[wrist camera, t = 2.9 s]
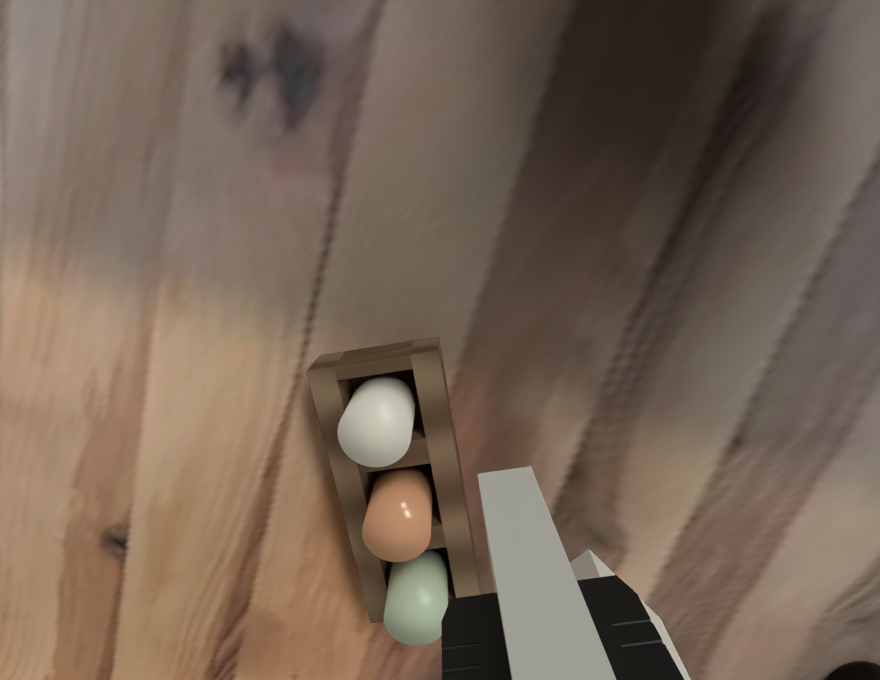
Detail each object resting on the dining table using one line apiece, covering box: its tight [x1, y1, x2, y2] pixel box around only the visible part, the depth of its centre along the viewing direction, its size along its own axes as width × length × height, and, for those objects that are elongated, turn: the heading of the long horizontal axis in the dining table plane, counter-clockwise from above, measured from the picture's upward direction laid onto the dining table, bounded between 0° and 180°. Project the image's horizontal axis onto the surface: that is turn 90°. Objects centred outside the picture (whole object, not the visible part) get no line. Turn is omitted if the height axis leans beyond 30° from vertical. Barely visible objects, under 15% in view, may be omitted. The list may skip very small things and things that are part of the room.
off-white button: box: [338, 375, 416, 467], centre depth 32 cm, size 5×5×5 cm
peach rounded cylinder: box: [362, 466, 432, 562], centre depth 34 cm, size 5×5×5 cm
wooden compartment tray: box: [306, 337, 481, 623], centre depth 37 cm, size 24×10×4 cm, turn 9°
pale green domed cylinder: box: [384, 549, 448, 646], centre depth 36 cm, size 5×5×5 cm
